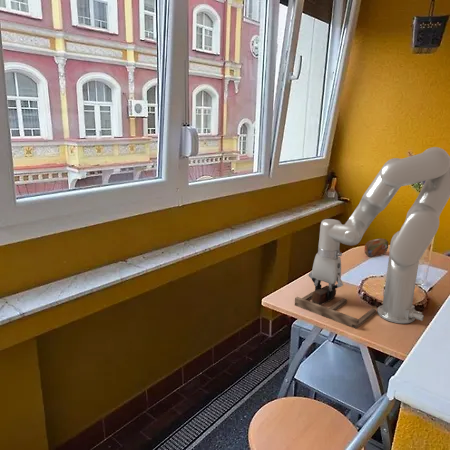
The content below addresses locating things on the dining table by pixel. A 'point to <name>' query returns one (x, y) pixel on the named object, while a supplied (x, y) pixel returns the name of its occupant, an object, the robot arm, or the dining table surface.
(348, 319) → the lane rack
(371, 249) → the tin
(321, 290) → the brick
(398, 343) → the dining table surface
